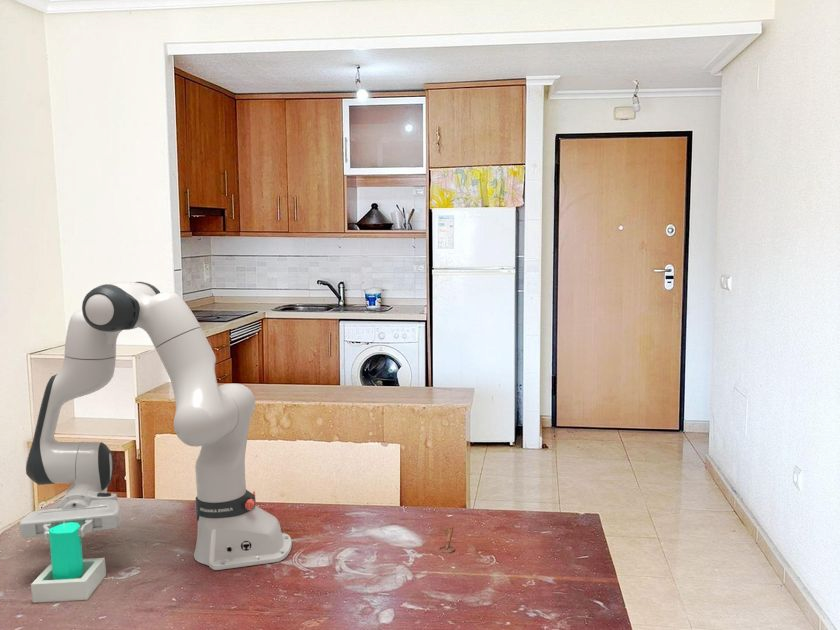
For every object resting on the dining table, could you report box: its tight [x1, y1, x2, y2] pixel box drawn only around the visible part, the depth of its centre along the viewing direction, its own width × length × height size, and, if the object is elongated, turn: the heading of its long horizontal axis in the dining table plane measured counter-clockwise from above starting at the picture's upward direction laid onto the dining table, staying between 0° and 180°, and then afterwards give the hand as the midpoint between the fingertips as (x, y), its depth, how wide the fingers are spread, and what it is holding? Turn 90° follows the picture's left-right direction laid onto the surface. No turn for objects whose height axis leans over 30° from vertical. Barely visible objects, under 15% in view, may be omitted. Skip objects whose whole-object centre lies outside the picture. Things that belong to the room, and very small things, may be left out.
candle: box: [48, 522, 84, 580], centre depth 158 cm, size 6×6×12 cm
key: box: [437, 524, 456, 554], centre depth 178 cm, size 6×1×15 cm
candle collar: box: [30, 557, 107, 603], centre depth 158 cm, size 11×11×4 cm
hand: (64, 535), depth 156 cm, fingers closed on candle, 5 cm apart
